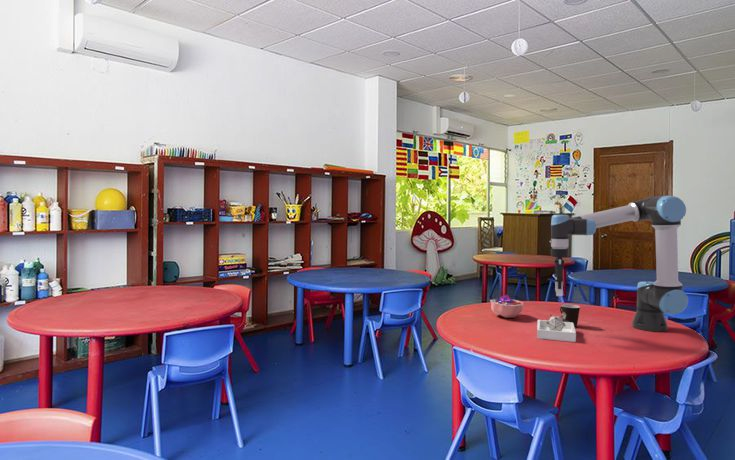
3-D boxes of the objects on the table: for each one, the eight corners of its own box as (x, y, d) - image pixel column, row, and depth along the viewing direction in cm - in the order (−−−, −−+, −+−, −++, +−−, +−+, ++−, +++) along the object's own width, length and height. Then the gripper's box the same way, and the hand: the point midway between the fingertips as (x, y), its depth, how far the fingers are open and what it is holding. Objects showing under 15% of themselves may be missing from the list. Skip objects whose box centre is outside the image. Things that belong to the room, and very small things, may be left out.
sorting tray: (572, 330, 234) (573, 322, 233) (575, 342, 214) (575, 333, 214) (537, 327, 239) (537, 319, 239) (537, 338, 219) (537, 329, 219)
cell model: (492, 320, 254) (493, 299, 253) (488, 312, 274) (488, 292, 273) (526, 321, 252) (526, 300, 251) (519, 313, 272) (519, 293, 271)
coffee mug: (581, 328, 238) (581, 308, 238) (562, 327, 240) (563, 307, 239) (576, 323, 249) (576, 303, 249) (558, 322, 251) (558, 302, 251)
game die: (558, 339, 228) (571, 322, 228) (557, 337, 220) (570, 319, 221) (542, 327, 232) (554, 311, 232) (540, 325, 225) (553, 308, 225)
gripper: (550, 245, 238) (549, 288, 239) (551, 249, 215) (550, 297, 216) (566, 246, 236) (566, 289, 237) (569, 250, 212) (569, 298, 213)
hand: (558, 293), depth 226 cm, fingers open, 13 cm apart
